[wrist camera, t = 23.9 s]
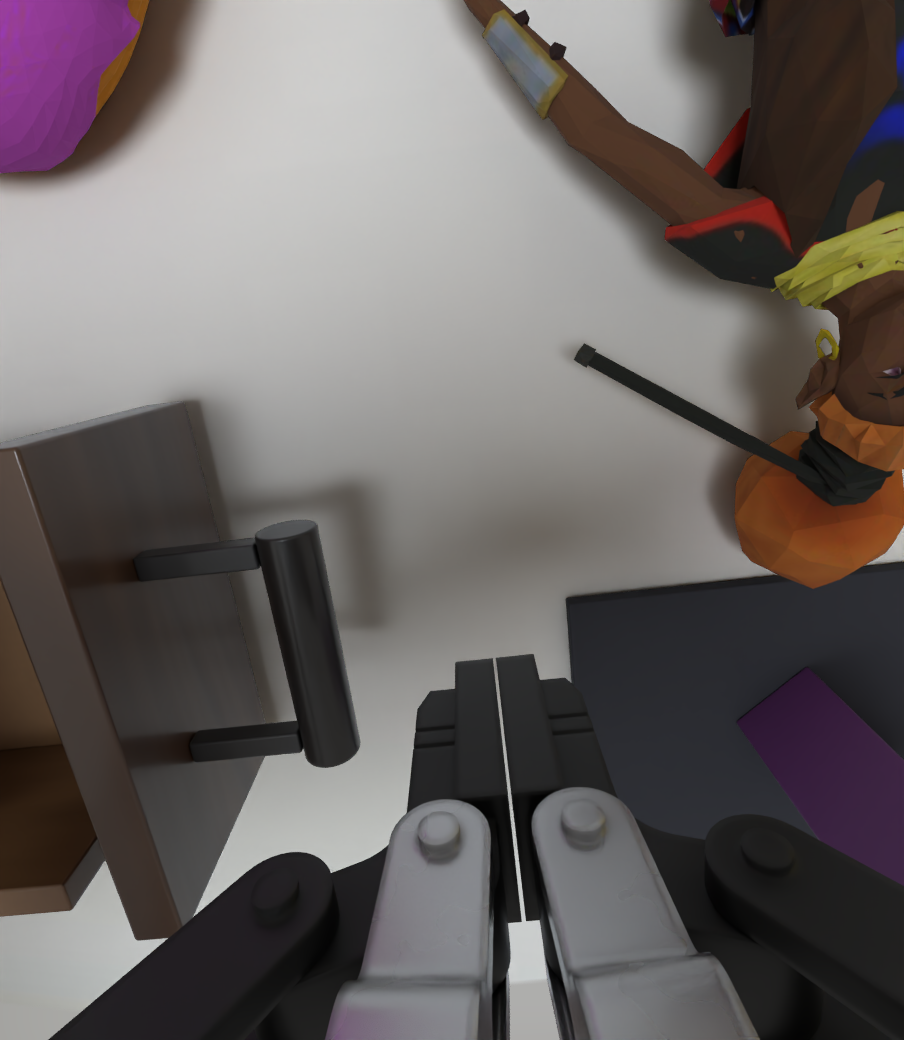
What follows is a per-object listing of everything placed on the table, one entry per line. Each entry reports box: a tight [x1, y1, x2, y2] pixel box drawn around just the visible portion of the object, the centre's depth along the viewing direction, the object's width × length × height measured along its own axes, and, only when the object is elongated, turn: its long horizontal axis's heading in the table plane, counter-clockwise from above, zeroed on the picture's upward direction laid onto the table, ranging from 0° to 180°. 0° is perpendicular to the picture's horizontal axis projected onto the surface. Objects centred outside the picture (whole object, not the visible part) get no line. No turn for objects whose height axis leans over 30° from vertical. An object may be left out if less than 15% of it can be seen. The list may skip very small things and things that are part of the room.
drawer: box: [0, 401, 360, 940], centre depth 16 cm, size 18×12×7 cm, turn 97°
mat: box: [566, 562, 904, 840], centre depth 21 cm, size 12×16×1 cm
